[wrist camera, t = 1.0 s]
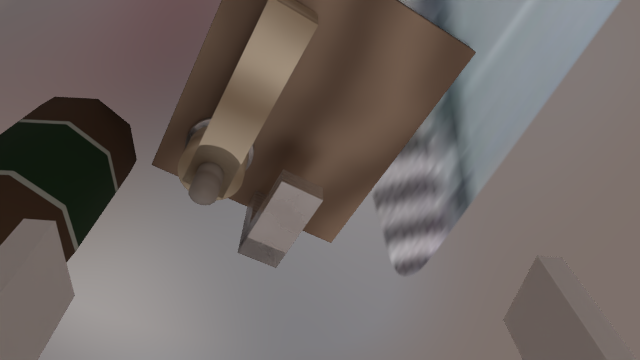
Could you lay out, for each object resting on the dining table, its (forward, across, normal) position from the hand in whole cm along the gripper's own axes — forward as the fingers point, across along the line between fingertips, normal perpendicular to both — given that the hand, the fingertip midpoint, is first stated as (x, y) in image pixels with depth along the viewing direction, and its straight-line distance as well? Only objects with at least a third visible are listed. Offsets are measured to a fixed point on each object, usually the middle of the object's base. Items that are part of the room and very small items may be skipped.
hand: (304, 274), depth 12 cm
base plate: (+21, 0, -4) cm, 21 cm away
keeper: (+20, -4, -9) cm, 22 cm away
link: (+19, -4, -3) cm, 20 cm away
